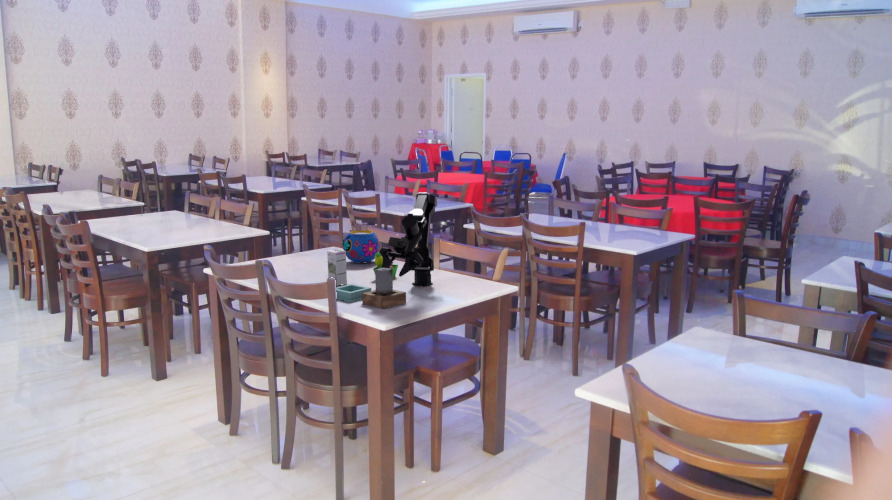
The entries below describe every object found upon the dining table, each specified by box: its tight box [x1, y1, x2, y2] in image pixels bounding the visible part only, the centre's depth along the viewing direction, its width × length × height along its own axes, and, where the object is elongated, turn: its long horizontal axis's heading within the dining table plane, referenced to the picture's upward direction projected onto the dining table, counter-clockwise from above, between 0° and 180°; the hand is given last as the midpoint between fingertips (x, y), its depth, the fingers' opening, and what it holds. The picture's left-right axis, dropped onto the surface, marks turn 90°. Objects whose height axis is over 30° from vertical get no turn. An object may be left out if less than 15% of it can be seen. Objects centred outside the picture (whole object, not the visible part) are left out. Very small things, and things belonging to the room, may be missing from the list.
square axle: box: [374, 268, 394, 296], centre depth 256 cm, size 4×4×13 cm
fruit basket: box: [372, 253, 399, 278], centre depth 299 cm, size 11×9×11 cm
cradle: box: [335, 283, 372, 303], centre depth 267 cm, size 13×13×3 cm
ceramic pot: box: [341, 229, 381, 264], centre depth 333 cm, size 18×18×15 cm
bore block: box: [362, 289, 407, 310], centre depth 257 cm, size 12×12×4 cm
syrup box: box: [326, 248, 348, 286], centre depth 287 cm, size 6×6×14 cm
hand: (390, 274), depth 258 cm, fingers open, 9 cm apart
